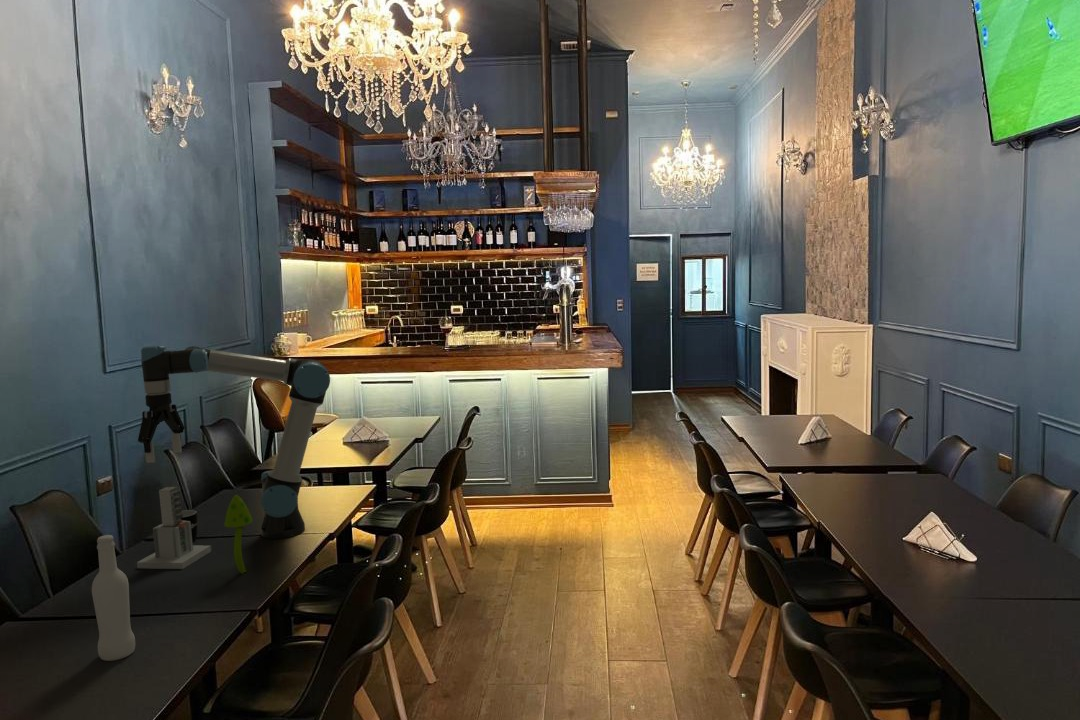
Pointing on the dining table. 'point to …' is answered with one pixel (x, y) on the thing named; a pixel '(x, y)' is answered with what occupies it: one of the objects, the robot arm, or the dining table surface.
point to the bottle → (112, 605)
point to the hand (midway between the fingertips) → (164, 457)
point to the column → (171, 510)
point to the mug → (191, 521)
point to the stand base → (173, 549)
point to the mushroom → (238, 526)
